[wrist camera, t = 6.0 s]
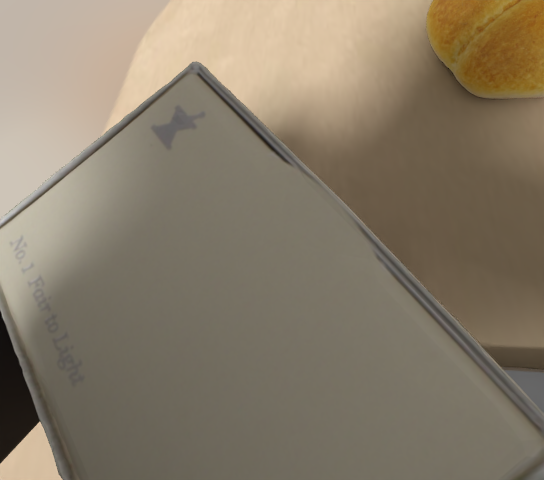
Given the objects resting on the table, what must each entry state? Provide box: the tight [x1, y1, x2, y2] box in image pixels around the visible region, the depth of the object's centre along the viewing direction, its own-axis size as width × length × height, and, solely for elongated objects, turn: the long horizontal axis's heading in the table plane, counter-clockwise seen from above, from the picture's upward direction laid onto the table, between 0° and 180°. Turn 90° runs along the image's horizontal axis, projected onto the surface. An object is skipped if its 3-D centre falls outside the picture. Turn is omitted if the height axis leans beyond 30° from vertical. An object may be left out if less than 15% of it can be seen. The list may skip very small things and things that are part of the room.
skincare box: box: [0, 62, 544, 480], centre depth 9 cm, size 6×4×12 cm
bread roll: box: [426, 0, 544, 99], centre depth 15 cm, size 8×9×4 cm
